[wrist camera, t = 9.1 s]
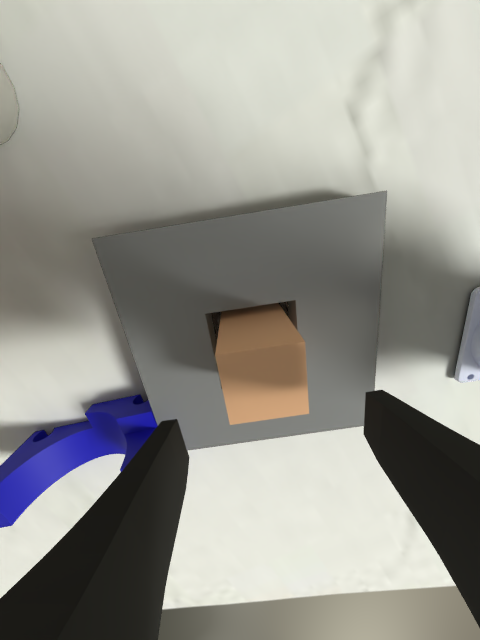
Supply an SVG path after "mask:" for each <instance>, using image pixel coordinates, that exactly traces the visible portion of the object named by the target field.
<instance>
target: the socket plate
mask: <svg viewBox="0 0 480 640" xmlns="http://www.w3.org/2000/svg"><path fill="white" fill-rule="evenodd" d="M386 201H387V191H382V192H376V193H370V194H363V195H357V196H351V197H345V198H339V199H333V200H326V201H320V202H314V203H308V204H302V205H296V206H289V207H283V208H277V209H271V210H265V211H259V212H252V213H246V214H240V215H234V216H228V217H222V218H215V219H209V220H203V221H197V222H191V223H185V224H178V225H172V226H166V227H160V228H154V229H148V230H141V231H135V232H129V233H123V234H117V235H111V236H104V237H98V238H92V241H93V244H94V247H95V250H96V253H97V255H98V258H99V261H100V264H101V267H102V270H103V272H104V275H105V278H106V281H107V284H108V287H109V289H110V292H111V295H112V298H113V301H114V304H115V306H116V309H117V312H118V315H119V318H120V321H121V323H122V326H123V329H124V332H125V335H126V338H127V340H128V343H129V346H130V349H131V352H132V355H133V357H134V360H135V363H136V366H137V369H138V372H139V374H140V377H141V380H142V383H143V386H144V389H145V391H146V394H147V397H148V400H149V403H150V406H151V408H152V411H153V414H154V417H155V420H156V423H157V425H159V424H160V422H161V421H165V420H172V419H177V420H178V423H179V426H180V429H181V433H182V436H183V439H184V442H185V446H186V449H187V450H194V449H201V448H208V447H215V446H223V445H230V444H237V443H244V442H251V441H258V440H265V439H273V438H280V437H287V436H294V435H301V434H308V433H316V432H323V431H330V430H337V429H344V428H351V427H359V426H364V416H365V395H366V392H371V391H374V389H375V373H376V358H377V342H378V326H379V311H380V295H381V279H382V263H383V248H384V232H385V216H386ZM286 301H287V303H288V315H289V319H290V321H291V322H292V324H293V325H294V326H295V328H296V329H297V331H298V332H299V334H300V335H301V337H302V338H303V339H304V341H305V348H306V366H307V383H308V401H309V414H304V415H297V416H290V417H283V418H276V419H269V420H262V421H255V422H248V423H241V424H234V425H230V423H229V418H228V414H227V409H226V404H225V400H224V395H223V390H222V385H221V381H220V376H219V371H218V366H217V362H216V357H215V353H216V346H217V339H216V335H215V330H214V325H213V320H212V315H211V313H214V312H221V311H227V310H234V309H240V308H247V307H253V306H260V305H266V304H273V303H279V302H286Z"/></svg>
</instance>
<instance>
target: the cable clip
mask: <svg viewBox="0 0 480 640" xmlns="http://www.w3.org/2000/svg"><path fill="white" fill-rule="evenodd" d="M85 415H86V417H87V418H88V420H89V421H84V422H80V423H75V424H70V425H65V426H61V427H56V428H54V431H53V432H52V433H51V434H50V435H49V436H48V435H47V433H46V432H45V431H44V430H41V431H37V432H34V433H33V434H32V435H31V436H30V437H29V438H28V439H27V440H26V441H25V442H24V443H23V444H22V445H21V446H20V447H19V448H18V449H17V450H16V451H15V452H14V453H13V454H12V455H11V456H10V457H9V458H8V459H7V460H6V461H5V462H4V463H3V464H2V465H1V466H0V528H1V527H7V526H12V525H13V524H14V522H15V521H16V520H17V519H18V517H19V516H20V515H21V514H22V513H23V512H24V511H25V509H26V508H27V507H28V506H29V505H30V504H31V503H32V502H33V501H34V500H35V499H36V498H37V497H38V496H39V495H40V494H42V493H43V492H44V491H45V490H46V489H47V488H48V487H50V486H51V485H52V484H53V483H55V482H56V481H57V480H59V479H60V478H61V477H63V476H64V475H66V474H67V473H68V472H70V471H72V470H73V469H75V468H77V467H78V466H80V465H82V464H84V463H86V462H88V461H90V460H93V459H95V458H98V457H101V456H105V455H109V454H126V455H125V458H124V461H123V464H122V466H121V469H120V471H121V472H122V470H123V469H124V468H125V467H126V465H127V464H128V463H129V462H130V460H131V459H132V458H133V457H134V456H135V454H136V453H137V452H138V450H139V449H140V448H141V447H142V445H143V444H144V443H145V441H146V440H147V439H148V438H149V436H150V435H151V434H152V433H153V431H154V430H155V429H156V427H157V426H158V425H157V423H156V420H155V417H154V414H153V411H152V408H151V406H150V403H149V400H147V401H146V402H144V401H143V399H142V397H141V395H140V394H139V395H135V396H130V397H125V398H121V399H116V400H111V401H106V402H102V403H97V404H92V406H91V407H90V408H89V409H88V410H87V412H86V413H85Z"/></svg>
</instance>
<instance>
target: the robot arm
mask: <svg viewBox="0 0 480 640" xmlns="http://www.w3.org/2000/svg"><path fill="white" fill-rule="evenodd" d="M454 378H455V380H457V381H459V382H461V383H463V382H470V381H477V380H480V287H477V288H476V289H474V290H473V291H472V293H471V297H470V302H469V307H468V312H467V317H466V322H465V327H464V332H463V336H462V341H461V346H460V351H459V356H458V361H457V366H456V371H455V376H454ZM364 435H365V437H366V439H367V441H368V443H369V445H370V447H371V449H372V451H373V453H374V455H375V457H376V459H377V461H378V462H379V464H380V466H381V467H382V469H383V470H384V472H385V473H386V475H387V476H388V478H389V479H390V481H391V482H392V484H393V485H394V487H395V489H396V490H397V492H398V493H399V495H400V496H401V498H402V499H403V501H404V502H405V504H406V505H407V507H408V508H409V510H410V511H411V513H412V514H413V516H414V517H415V519H416V520H417V522H418V523H419V525H420V526H421V528H422V529H423V531H424V532H425V534H426V535H427V537H428V538H429V540H430V542H431V543H432V545H433V546H434V548H435V550H436V551H437V553H438V554H439V556H440V558H441V560H442V561H443V563H444V565H445V567H446V568H447V570H448V572H449V574H450V575H451V577H452V579H453V581H454V582H455V584H456V586H457V588H458V589H459V591H460V593H461V595H462V597H463V598H464V600H465V602H466V604H467V606H468V607H469V609H470V611H471V613H472V615H473V616H474V618H475V620H476V622H477V624H478V625H479V627H480V445H479V444H477V443H475V442H473V441H471V440H469V439H468V438H466V437H464V436H462V435H460V434H458V433H457V432H455V431H453V430H451V429H449V428H448V427H446V426H444V425H442V424H441V423H439V422H437V421H435V420H434V419H432V418H430V417H428V416H427V415H425V414H423V413H421V412H420V411H418V410H416V409H415V408H413V407H411V406H409V405H408V404H406V403H404V402H403V401H401V400H399V399H397V398H396V397H394V396H392V395H390V394H389V393H387V392H385V391H383V390H378V391H371V392H366V395H365V416H364ZM188 465H189V455H188V452H187V449H186V446H185V442H184V439H183V436H182V433H181V429H180V426H179V423H178V420H177V419H172V420H165V421H161V422H160V424H159V425H158V426H157V427H156V429H155V430H154V431H153V433H152V434H151V435H150V436H149V438H148V439H147V440H146V441H145V443H144V444H143V445H142V447H141V448H140V449H139V450H138V452H137V453H136V454H135V456H134V457H133V458H132V459H131V460H130V462H129V463H128V464H127V465H126V467H125V468H124V469H123V470H122V472H121V473H120V474H119V475H118V477H117V478H116V479H115V480H114V481H113V482H112V484H111V485H110V486H109V487H108V488H107V489H106V491H105V492H104V493H103V494H102V495H101V496H100V498H99V499H98V500H97V501H96V502H95V503H94V505H93V506H92V507H91V508H90V509H89V510H88V511H87V512H86V513H85V515H84V516H83V517H82V518H81V519H80V520H79V521H78V522H77V523H76V524H75V525H74V526H73V528H72V529H71V530H70V531H69V532H68V533H67V534H66V535H65V536H64V537H63V538H62V539H61V540H60V541H59V542H58V543H57V544H56V545H55V546H54V547H53V548H52V549H51V550H50V551H49V552H48V553H47V554H46V555H45V556H44V557H43V558H42V559H41V560H40V561H39V562H38V563H37V564H36V565H35V566H34V567H33V568H32V569H31V570H30V571H29V572H28V573H27V574H26V575H25V576H23V577H22V578H21V579H20V580H19V581H18V582H17V583H16V584H15V585H14V586H13V587H12V588H11V589H10V590H9V591H8V592H7V593H6V594H5V595H4V596H3V597H2V598H0V640H158V634H159V627H160V620H161V613H162V606H163V599H164V592H165V586H166V581H167V576H168V570H169V565H170V561H171V556H172V551H173V547H174V542H175V537H176V533H177V528H178V524H179V519H180V514H181V510H182V505H183V500H184V495H185V490H186V484H187V475H188Z"/></svg>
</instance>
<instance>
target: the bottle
mask: <svg viewBox="0 0 480 640" xmlns="http://www.w3.org/2000/svg"><path fill="white" fill-rule="evenodd" d="M18 113H19V107H18V103H17V98H16V93H15V89H14V86H13V84H12V83H11V81H10V79H9V77H8V75H7V73H6V71H5V70H4V68H3V66H2V65H1V63H0V144H2V143H5V142H7V141H8V140H9V138H10V137H11V135H12V134H13V132H14V131H15V129H16V128H17V120H18Z"/></svg>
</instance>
